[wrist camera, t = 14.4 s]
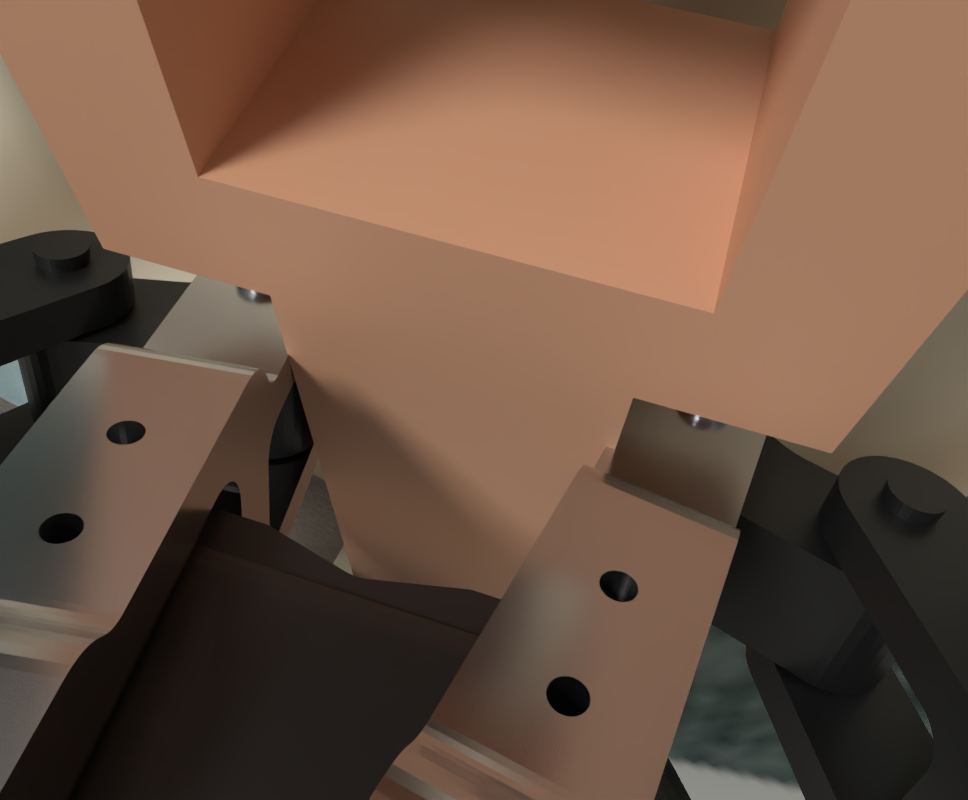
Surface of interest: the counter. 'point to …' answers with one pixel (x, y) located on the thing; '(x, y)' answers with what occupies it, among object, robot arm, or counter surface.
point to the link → (525, 222)
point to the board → (880, 432)
